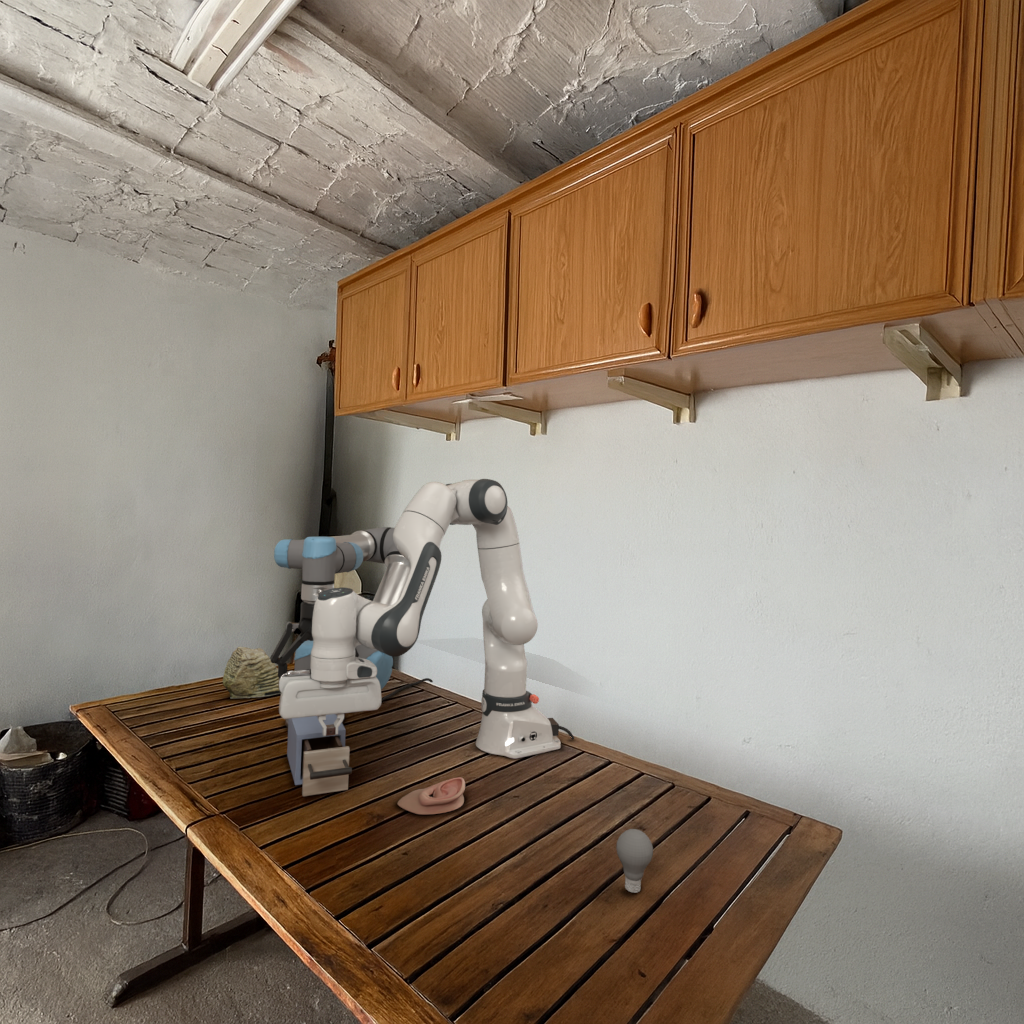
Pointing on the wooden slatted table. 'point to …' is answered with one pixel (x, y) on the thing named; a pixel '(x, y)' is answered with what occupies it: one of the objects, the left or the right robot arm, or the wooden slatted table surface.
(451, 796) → the anatomical model
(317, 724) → the cabinet
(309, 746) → the drawer
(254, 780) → the wooden slatted table surface
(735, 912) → the wooden slatted table surface
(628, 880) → the light bulb
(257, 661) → the fossil
